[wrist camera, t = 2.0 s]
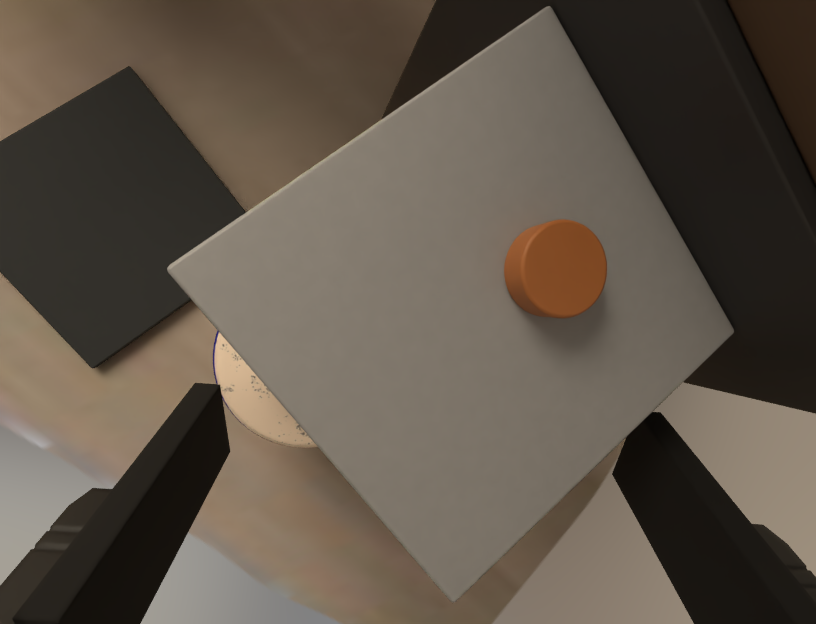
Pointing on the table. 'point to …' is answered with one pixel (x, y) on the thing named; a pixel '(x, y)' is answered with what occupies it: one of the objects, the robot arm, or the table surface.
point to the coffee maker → (535, 256)
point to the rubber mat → (105, 214)
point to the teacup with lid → (254, 399)
